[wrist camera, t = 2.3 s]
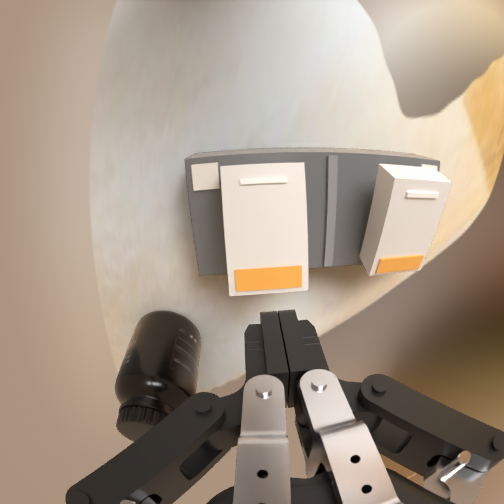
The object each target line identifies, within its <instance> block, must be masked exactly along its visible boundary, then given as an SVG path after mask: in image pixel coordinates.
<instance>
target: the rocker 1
mask: <svg viewBox="0 0 504 504" xmlns="http://www.w3.org/2000/svg"><path fill="white" fill-rule="evenodd" d="M220 173H221V190H222V205H223V220H224V234H225V247H226V260H227V272H228V284H229V296H241V295H257V294H271V293H284V292H297V291H308V227H307V202H306V182H305V166H304V162H301V163H265V164H245V165H230V166H220Z"/></svg>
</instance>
